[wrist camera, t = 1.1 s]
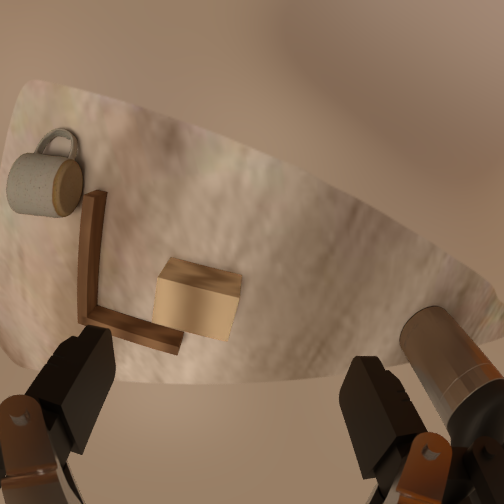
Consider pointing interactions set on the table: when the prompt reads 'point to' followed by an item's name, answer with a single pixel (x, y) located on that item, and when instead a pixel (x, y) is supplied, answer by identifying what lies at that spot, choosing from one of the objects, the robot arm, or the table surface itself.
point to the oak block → (196, 299)
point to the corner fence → (88, 287)
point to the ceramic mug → (46, 181)
